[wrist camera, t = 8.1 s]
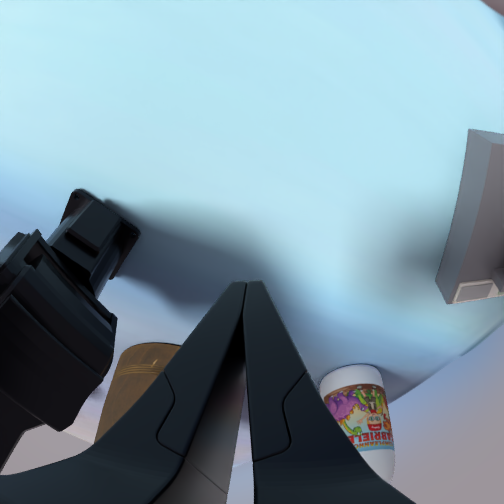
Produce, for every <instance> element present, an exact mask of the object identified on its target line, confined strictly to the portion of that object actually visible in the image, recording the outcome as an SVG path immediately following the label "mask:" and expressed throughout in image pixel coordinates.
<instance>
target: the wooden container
mask: <svg viewBox="0 0 504 504" xmlns="http://www.w3.org/2000/svg"><path fill="white" fill-rule="evenodd" d="M179 348H180V346H176V345H170V344H162V343H145V344H139V345H135V346H132V347H130V348H128V349H126V350H125V351H124V352H123V353H122V354H121V356H120V359H119V361H118V364H117V367H116V370H115V373H114V376H113V380H112V382H111V385H110V388H109V391H108V394H107V397H106V400H105V403H104V407H103V410H102V414H101V418H100V421H99V426H98V430H97V433H96V437H95V441H94V443H95V442H97V441H98V440H99V439H100V438H101V437H102V436H103V435H104V434H105V433H106V432H107V431H108V430H109V429H110V428H111V427H112V426H113V425H114V424H115V423H116V422H117V421H118V420H119V419H120V418H121V417H122V416H123V415H124V414H125V413H126V412H127V411H128V410H129V409H130V408H131V407H132V405H133V404H134V403H135V402H136V401H137V400H138V399H139V398H140V397H141V396H142V395H143V393H144V392H145V391H146V390H147V389H148V387H149V386H150V385H151V384H152V383H153V381H154V380H155V379H156V378H157V376H158V375H159V374H160V372H161V371H164V370H163V369H164V368H165V366H166V365H167V364H168V362H169V361H170V360H171V359H172V357H173V356H174V355H175V353H176V352H177V351H178V350H179Z"/></svg>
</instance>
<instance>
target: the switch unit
mask: <svg viewBox="0 0 504 504" xmlns="http://www.w3.org/2000/svg"><path fill="white" fill-rule="evenodd" d="M435 282H436V284H437V286H438V288H439V290H440V292H441V293H442V295H443V298H444V300H445V302H446V304H455V303H462V302H468V301H475V300H481V299H487V298H493V297H499V296H504V134H499V133H494V132H487V131H481V130H474V129H469V130H468V139H467V146H466V153H465V160H464V166H463V172H462V178H461V183H460V189H459V194H458V198H457V203H456V208H455V212H454V216H453V220H452V224H451V228H450V232H449V236H448V240H447V243H446V247H445V251H444V254H443V257H442V261H441V264H440V267H439V270H438V274H437V277H436V280H435Z"/></svg>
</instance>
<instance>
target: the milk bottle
mask: <svg viewBox="0 0 504 504" xmlns="http://www.w3.org/2000/svg"><path fill="white" fill-rule="evenodd" d="M320 396H321V397H322V399H323V401H324V403H325V404H326V406H327V407H328V409H329V410H330V412H331V413H332V415H333V417H334V418H335V419H336V421H337V422H338V424H339V425H340V427H341V428H342V429H343V431H344V432H345V434H346V435H347V436H348V438H349V439H350V441H351V442H352V443H353V445H354V446H355V447H356V449H357V450H358V452H359V453H360V454H361V456H362V457H363V458H364V460H365V461H366V462H367V463H368V465H369V466H370V467H371V468H372V469H373V470H374V471H375V472H376V473H377V474H378V475H379V476H380V477H381V478H382V479H383V480H385V481H386V482H387V483H389V484H390V483H391V481H392V478H393V474H394V469H395V450H394V441H393V435H392V429H391V422H390V417H389V411H388V406H387V401H386V395H385V391H384V386H383V381H382V377H381V374H380V372H379V371H378V370H377V369H376V368H375V367H373V366H370V365H363V364H356V365H349V366H345V367H341V368H338V369H336V370H334V371H332V372H330V373H328V374H327V375H326V376H325V377H324V378H323V379H322V381H321V383H320Z"/></svg>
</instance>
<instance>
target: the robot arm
mask: <svg viewBox="0 0 504 504" xmlns="http://www.w3.org/2000/svg"><path fill="white" fill-rule="evenodd" d="M76 194H77V195H78V196H79V197H77V196H76ZM132 232H133V233H134V234H135V235H133V234H132ZM41 235H42V234H41V233H40V232H39V230H38V229H36V230H35V231H34V232H33V233H31V234H29V233H28V234H23V233H20V232H18V233H17V234H16V235H15V236H14V237H13V238H12V239H11V240H10V241H9V242H8V244H7V245H6V246H5V247H4V248H3V249H2V250H1V252H0V473H1V471H2V469H3V468H4V466H5V464H6V462H7V460H8V459H9V457H10V455H11V453H12V452H13V450H14V448H15V447H16V445H17V443H18V441H19V440H20V438H21V437H22V435H23V434H24V433H25V432H26V431H28V430H31V429H34V428H36V427H39V426H42V425H45V424H47V425H48V426H50V427H51V428H53V429H55V430H56V431H59V432H60V431H63V430H64V429H66V428H67V427H69V426H70V425H72V424H73V422H74V420H75V418H76V416H77V415H78V413H79V411H80V409H81V407H82V405H83V404H84V402H85V400H86V399H87V398H88V397H89V395H90V394H91V393H92V391H93V390H94V389H95V388H97V387H98V386H99V385H100V384H101V383H102V382H103V378H104V377H105V376H106V374H107V373H108V371H109V369H110V367H111V364H112V361H113V354H114V344H115V335H116V327H117V319H118V318H117V317H116V316H115V315H114V314H113V313H110V312H109V311H108V310H107V309H106V308H105V307H104V306H103V305H102V304H101V303H100V302H99V301H98V300H97V299H98V297H99V295H100V294H101V292H102V290H103V288H104V286H105V284H106V282H107V281H108V279H109V280H112V279H113V278H114V276H115V275H116V273H117V271H118V270H119V268H120V266H121V265H122V263H123V262H124V260H125V258H126V257H127V255H128V254H129V252H130V250H131V249H132V247H133V246H134V244H135V243H136V241H137V240H138V238H139V236H140V231H139V229H137V228H136V227H135V226H133V225H132V224H130V223H129V222H127V221H126V220H124V219H123V218H121V217H120V216H118V215H117V214H115V213H114V212H112V211H111V210H109V209H108V208H106V207H105V206H103V205H102V204H100V203H99V202H97V201H96V200H95V199H93V198H92V197H90V196H89V195H87V194H86V193H84V192H83V191H81V190H80V189H75V190H74V191H73V192H72V193H71V196H70V198H69V201H68V203H67V206H66V208H65V211H64V214H63V216H62V219H61V222H60V225H59V226H58V228H57V229H56V230H55V231H54V232H53V233H52V235H51V236H50V237H49V238H48V239H47V240H46V241H45V240H44V239H43V237H42V236H41ZM163 370H164V371H161V372H160V374H159V375H158V376H157V378H156V379H155V380H154V381H153V383H152V384H151V385H150V386H149V387H148V389H147V390H146V391H145V392H144V393H143V395H142V396H141V397H140V398H139V399H138V400H137V401H136V402H135V403H134V404H133V405H132V407H131V408H130V409H129V410H128V411H127V412H126V413H125V414H124V415H123V416H122V417H121V418H120V419H119V420H118V421H117V422H116V423H115V424H114V425H113V426H112V427H111V428H110V429H109V430H108V431H107V432H106V433H105V434H104V435H103V436H102V437H101V438H100V439H99V440H98V441H97V442H95V443H94V444H93V445H92V446H91V447H90V448H88V449H87V450H85V451H84V452H82V453H80V454H78V455H76V456H73V457H70V458H68V459H64V460H61V461H58V462H55V463H52V464H49V465H45V466H42V467H38V468H35V469H31V470H28V471H25V472H21V473H17V474H12V475H0V504H226V502H227V494H228V490H229V484H230V478H231V472H232V466H233V460H234V454H235V448H236V442H237V436H238V430H239V424H240V418H241V411H242V405H243V399H244V393H245V386H246V381H247V395H248V410H249V423H250V437H251V450H252V461H253V477H254V504H416V503H415V502H413V501H412V500H410V499H409V498H408V497H406V496H405V495H404V494H402V493H401V492H399V491H398V490H397V489H395V488H394V487H393V486H391V485H390V484H389V483H387V482H386V481H385V480H383V479H382V478H381V477H380V476H379V475H378V474H377V473H376V472H375V471H374V470H373V469H372V468H371V467H370V466H369V465H368V463H367V462H366V461H365V460H364V458H363V457H362V456H361V454H360V453H359V452H358V450H357V449H356V447H355V446H354V445H353V443H352V442H351V441H350V439H349V438H348V436H347V435H346V434H345V432H344V431H343V429H342V428H341V427H340V425H339V424H338V422H337V421H336V419H335V418H334V417H333V415H332V413H331V412H330V410H329V409H328V407H327V406H326V404H325V403H324V401H323V399H322V397H321V396H320V394H319V392H318V390H317V388H316V386H315V384H314V382H313V380H312V378H311V376H310V374H309V373H308V372H307V369H306V367H305V365H304V363H303V361H302V359H301V357H300V355H299V352H298V350H297V348H296V346H295V344H294V342H293V340H292V338H291V336H290V334H289V332H288V330H287V328H286V326H285V324H284V322H283V320H282V318H281V316H280V314H279V312H278V310H277V308H276V306H275V304H274V302H273V300H272V298H271V296H270V294H269V292H268V289H267V287H266V285H265V283H264V282H263V281H262V280H249V281H248V282H247V281H232V282H231V283H230V284H229V285H228V287H227V288H226V289H225V290H224V292H223V293H222V294H221V296H220V297H219V298H218V299H217V301H216V302H215V303H214V305H213V306H212V307H211V308H210V310H209V311H208V312H207V314H206V315H205V316H204V317H203V319H202V320H201V321H200V323H199V324H198V325H197V326H196V328H195V329H194V330H193V332H192V333H191V334H190V335H189V337H188V338H187V339H186V341H185V342H184V343H183V344H182V346H181V347H180V348H179V350H178V351H177V352H176V353H175V355H174V356H173V357H172V359H171V360H170V361H169V362H168V364H167V365H166V366H165V368H164V369H163Z"/></svg>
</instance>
